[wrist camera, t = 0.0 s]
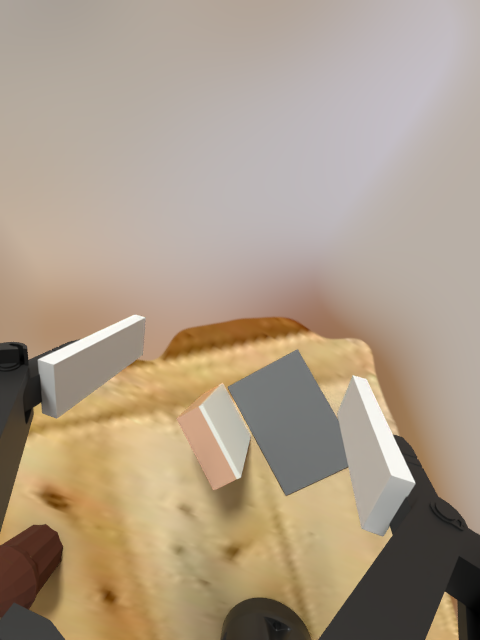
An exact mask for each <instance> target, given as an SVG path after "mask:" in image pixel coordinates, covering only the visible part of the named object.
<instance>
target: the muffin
mask: <svg viewBox="0 0 480 640" xmlns="http://www.w3.org/2000/svg"><path fill="white" fill-rule="evenodd" d="M62 549H63V545H62V543H61V541H60V539H59V536H58V533H57V532H56V531H54V530H52V529H51V528H50V527H49V526H48V525H46V524H45V525H33V526H31V527H29V528H28V529H26V530H25V531H23V532H21V533H20V534H18V535H17V536H15V537H13V538H12V539H10V540H9V541H7V542H5V543H4V544H2V545H0V618H2V617H3V616H4V615H5V613H6V612H7V611H8V609H9V608H10V607H11V606H12V604H13V603H16V604H18V605H20V606H22V607H24V608H26V609H28V610H29V608H30V607H31V605H32V603H33V602H34V600H35V598H36V595H37V594H38V592H39V591H40V589H41V588H42V587H43V585H44V584H45V582H46V581H47V580H48V578H49V577H50V575H51V574H52V573H53V571H54V570H55V568H56V567H57V566H58V564H59V563H60V561H61V553H62Z"/></svg>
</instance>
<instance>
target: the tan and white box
mask: <svg viewBox="0 0 480 640" xmlns="http://www.w3.org/2000/svg"><path fill="white" fill-rule="evenodd" d="M176 419H177V421H178V423H179V424H180V426H181V428H182V430H183V432H184V434H185V436H186V438H187V440H188V442H189V444H190V446H191V448H192V450H193V452H194V454H195V456H196V458H197V460H198V462H199V463H200V465H201V467H202V469H203V471H204V473H205V475H206V477H207V479H208V481H209V483H210V485H211V487H212V489H213V491H214V490H216V489H218V488H220V487H222V486H224V485H226V484H228V483H230V482H232V481H234V480H236V479H238V478H240V477H241V475H242V471H243V467H244V463H245V458H246V454H247V450H248V446H249V441H250V437H251V435H250V433H249V431H248V429H247V427H246V425H245V423H244V421H243V420H242V418H241V416H240V414H239V412H238V410H237V408H236V407H235V405H234V403H233V401H232V399H231V397H230V395H229V394H228V392H227V390H226V388H225V386H224V384H223V383H222V384H220V385H218V386H216V387H214V388H212V389H211V390H209V391H207V392H205V393H203V394H202V395H201V396H200V397H199V398H198V399H197V400H196V401H195V402H194V403H192V404H191V405H190V406H189V407H188V408H187V409H186V410H185V411H184V412H183V413H182V414H181V415H180V416H179V417H178V418H176Z"/></svg>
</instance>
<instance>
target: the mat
mask: <svg viewBox="0 0 480 640" xmlns="http://www.w3.org/2000/svg"><path fill="white" fill-rule="evenodd" d="M228 389H229V391H230V393H231V394H232V396H233V398H234V400H235V402H236V404H237V406H238V407H239V409H240V411H241V413H242V415H243V417H244V419H245V420H246V422H247V424H248V426H249V428H250V430H251V432H252V433H253V435H254V437H255V439H256V441H257V443H258V445H259V446H260V448H261V450H262V452H263V454H264V456H265V458H266V459H267V461H268V463H269V465H270V467H271V469H272V471H273V472H274V474H275V476H276V478H277V480H278V482H279V484H280V485H281V487H282V489H283V491H284V493H285V495H288V494H291V493H293V492H295V491H297V490H299V489H301V488H304V487H306V486H308V485H310V484H312V483H314V482H316V481H319V480H321V479H323V478H325V477H327V476H329V475H331V474H334V473H336V472H338V471H340V470H342V469H344V468H347V467H348V462H347V458H346V453H345V448H344V443H343V439H342V434H341V429H340V425H339V421H338V419H337V417H336V416H335V414H334V412H333V410H332V409H331V407H330V405H329V403H328V402H327V400H326V398H325V396H324V395H323V393H322V391H321V389H320V388H319V386H318V384H317V382H316V381H315V379H314V377H313V375H312V374H311V372H310V370H309V368H308V367H307V365H306V363H305V361H304V360H303V358H302V356H301V354H300V353H299V351H298V349H297V350H295V351H294V352H292V353H290V354H288V355H286V356H284V357H282V358H281V359H279V360H277V361H275V362H273V363H271V364H269V365H267V366H266V367H264V368H262V369H260V370H258V371H256V372H254V373H253V374H251V375H249V376H247V377H245V378H243V379H241V380H240V381H238V382H236V383H234V384H232V385H230V386H228Z"/></svg>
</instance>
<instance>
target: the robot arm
mask: <svg viewBox="0 0 480 640" xmlns="http://www.w3.org/2000/svg"><path fill="white" fill-rule="evenodd" d="M144 332H145V317H142V316H139V315H133V316H131V317H128V318H127V319H124V320H122V321H120V322H118V323H115V324H113V325H111V326H109V327H107V328H105V329H102V330H100V331H98V332H96V333H94V334H92V335H90V336H87V337H85V338H83V339H81V340H75V341H71V342H67V343H65V344H63V345H61V346H59V347H56V348H54V349H52V351H51V350H50V351H48V352H45V353H43V354H41V355H38V356H36V357H34V358H32V359H30V360H28V352H27V346H26V345H25V344H23V343H19V342H6V343H0V532H1V528H2V524H3V521H4V517H5V514H6V510H7V507H8V503H9V500H10V496H11V493H12V489H13V486H14V482H15V479H16V475H17V471H18V468H19V464H20V461H21V457H22V454H23V450H24V447H25V443H26V440H27V436H28V433H29V429H30V426H31V422H32V419H33V415H34V411H33V407H35V406H36V405H38V404H39V403H41V404H42V413H43V414H46V415H49V416H51V417H54V418H58V417H60V416H61V415H62V414H64V413H65V412H66V411H68V410H69V409H70V408H72V407H73V406H75V405H76V404H77V403H79V402H80V401H81V400H83V399H84V398H85V397H87V396H88V395H89V394H91V393H92V392H93V391H95V390H96V389H97V388H99V387H100V386H101V385H103V384H104V383H105V382H107V381H108V380H110V379H111V378H112V377H114V376H115V375H116V374H118V373H119V372H120V371H122V370H123V369H124V368H126V367H127V366H128V365H130V364H131V363H132V362H134V361H135V360H136V359H138V358H139V357H140V356H142V355H143V345H144ZM337 415H338V420H339V425H340V429H341V434H342V439H343V443H344V448H345V453H346V458H347V462H348V467H349V472H350V476H351V481H352V486H353V490H354V495H355V500H356V505H357V509H358V514H359V519H360V523H361V528H362V529H364V530H366V531H369V532H372V533H375V534H378V535H380V536H384V534H385V533H386V531H387V530H388V528H389V526H390V528H391V531H392V534H393V536H392V537H391V538H390V540H389V541H388V543H387V544H386V546H385V547H384V548H383V550H382V551H381V553H380V554H379V555H378V557H377V558H376V560H375V561H374V562H373V564H372V565H371V567H370V568H369V569H368V571H367V572H366V574H365V575H364V576H363V578H362V579H361V581H360V582H359V583H358V585H357V586H356V588H355V589H354V590H353V592H352V593H351V595H350V596H349V597H348V599H347V600H346V602H345V603H344V604H343V606H342V607H341V609H340V610H339V611H338V613H337V614H336V616H335V617H334V618H333V620H332V621H331V623H330V624H329V625H328V627H327V628H326V630H325V631H324V632H323V634H322V635H321V637H320V638H319V640H425V639H426V636H427V634H428V631H429V629H430V626H431V624H432V621H433V619H434V616H435V614H436V612H437V609H438V607H439V604H440V602H441V599H442V597H443V594H444V592H447V593H448V594H450V595H451V596H452V597H454V598H455V599H457V600H458V632H459V640H480V535H479V534H477V533H475V532H473V531H472V530H470V529H469V528H468V527H467V525H466V523H465V520H464V519H463V518H462V516H461V515H460V514H459V513H458V511H457V510H456V509H454V508H453V507H452V506H451V505H450V504H449V503H447V502H446V501H444V500H443V499H441V498H439V497H438V495H437V494H436V492H435V490H434V488H433V486H432V484H431V482H430V480H429V478H428V477H427V475H426V473H425V471H424V469H423V468H422V465H421V463H420V462H419V460H418V459H417V456H416V454H415V453H414V450H413V449H412V447H411V446H410V445H409V444H408V443H407V442H406V441H405V440H404V438H402V437H400V436H397V435H393V434H392V432H391V430H390V428H389V426H388V424H387V422H386V420H385V417H384V415H383V413H382V411H381V409H380V407H379V405H378V403H377V400H376V398H375V396H374V394H373V392H372V390H371V388H370V386H369V384H368V381H367V379H364V378H360V377H357V376H352V378H351V381H350V383H349V386H348V388H347V391H346V393H345V396H344V398H343V401H342V403H341V405H340V408H339V410H338V413H337ZM0 640H65V639H64V637H63V636H62V635H61V634H60V632H59V631H58V630H57V628H56V627H55V626H54V624H53V623H52V622H51V621H50V620H48V619H46V618H44V617H42V616H40V615H38V614H36V613H34V612H32V611H30V610H28V609H26V608H24V607H22V606H20V605H18V604H16V603H13V604H12V606H11V607H10V608H9V609H8V611H7V612H6V613H5V615H4V616H3V617H2V618H0ZM220 640H311V637H310V634H309V632H308V630H307V628H306V626H305V624H304V623H303V621H302V620H301V619H300V618H299V617H298V615H297V614H296V613H295V612H293V611H292V610H291V609H290V608H288V607H287V606H285V605H284V604H282V603H280V602H277V601H275V600H271V599H267V598H252V599H248V600H245V601H243V602H241V603H239V604H237V605H236V606H235V607H234V608H233V609H232V610H231V611H230V612H229V614H228V615H227V617H226V619H225V621H224V624H223V628H222V633H221V639H220Z"/></svg>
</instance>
